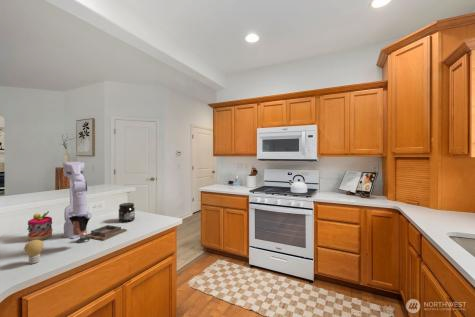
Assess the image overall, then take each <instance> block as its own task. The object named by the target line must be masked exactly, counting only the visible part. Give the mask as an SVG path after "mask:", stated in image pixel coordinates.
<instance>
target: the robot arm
mask: <svg viewBox="0 0 475 317" xmlns="http://www.w3.org/2000/svg"><path fill="white" fill-rule="evenodd" d="M62 168H63V169H62V171H63V176H64V177H66V178H68V181H69V182H68V183H69V205H67V206H66V207H65V208H64V214H63V215H64V216H63V217H64V224H63V235H62V237H63V238H69V239H75V238H78V237H79V238H80V235H79V236H78V235H73V221H76V220H78V221H79V224H80V230H81V231H84V230H86V227H87V226H88V223H89V222H90V219H91V218H92V217H93V216H92V215H93V214H92V212H91V213H90V212H88V211H87V192H88V188H89V187H88V186H89V184H88V181H87V180H85V177H84V175H83V174H84V172H85V162H84V161H64V162H63V164H62ZM87 228H88V227H87ZM87 234H88V233H86V235H87Z"/></svg>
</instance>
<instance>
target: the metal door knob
mask: <svg viewBox="0 0 475 317" xmlns="http://www.w3.org/2000/svg"><path fill="white" fill-rule="evenodd" d="M86 235H87V234H86V233H85V234H82V235H80V236H79V238H77V239H76V243H77V244H82V243H86V242H90V239H91V238H89V237H86Z"/></svg>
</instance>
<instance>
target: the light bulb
mask: <svg viewBox="0 0 475 317" xmlns="http://www.w3.org/2000/svg"><path fill="white" fill-rule="evenodd" d="M44 246H45V244H44V241H43V240H32V241H28V242H27V243H26V244H25V245H24V247H23V250H24V253H25V254H26V255H27V256H28V263H29V264H30V265H32V264H37V263H39V262H40V261H41V252H42V251H43V249H44Z"/></svg>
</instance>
